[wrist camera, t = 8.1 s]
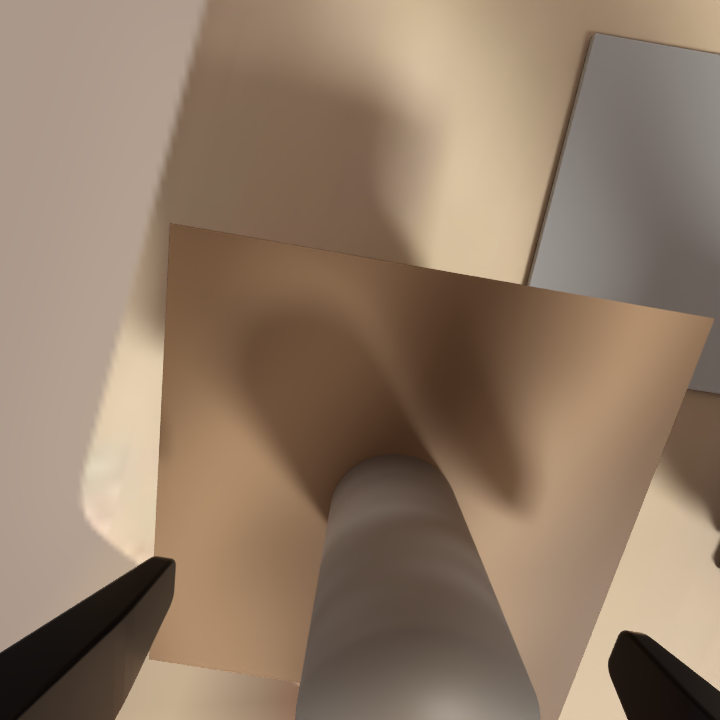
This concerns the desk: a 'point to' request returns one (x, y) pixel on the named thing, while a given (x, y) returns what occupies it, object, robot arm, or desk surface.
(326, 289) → the lid
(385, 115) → the desk surface
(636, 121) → the tray
